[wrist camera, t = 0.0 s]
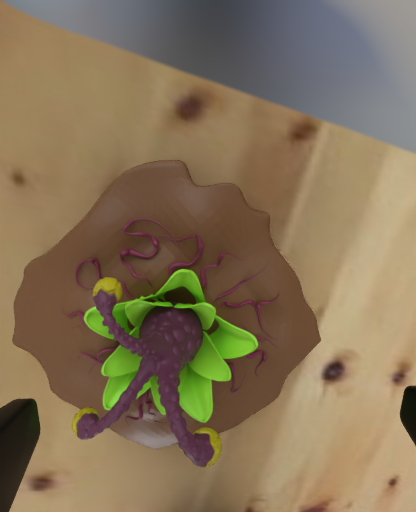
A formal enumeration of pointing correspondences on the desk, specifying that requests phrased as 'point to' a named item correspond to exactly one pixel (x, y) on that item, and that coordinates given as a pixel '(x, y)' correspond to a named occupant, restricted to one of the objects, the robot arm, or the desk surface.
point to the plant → (165, 312)
